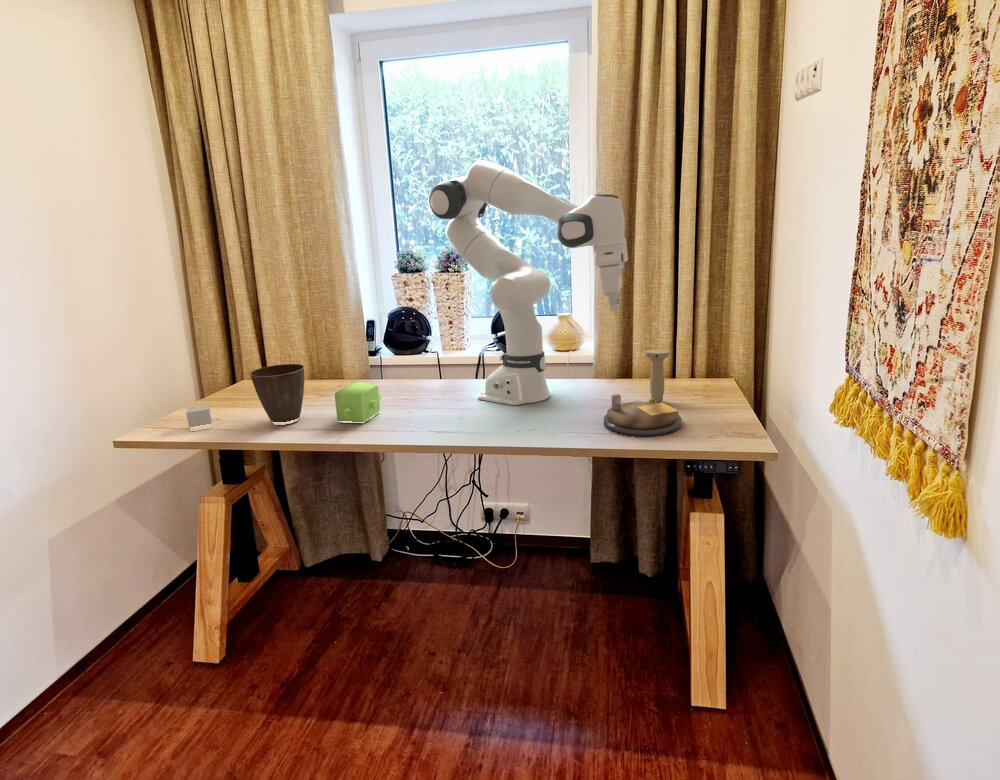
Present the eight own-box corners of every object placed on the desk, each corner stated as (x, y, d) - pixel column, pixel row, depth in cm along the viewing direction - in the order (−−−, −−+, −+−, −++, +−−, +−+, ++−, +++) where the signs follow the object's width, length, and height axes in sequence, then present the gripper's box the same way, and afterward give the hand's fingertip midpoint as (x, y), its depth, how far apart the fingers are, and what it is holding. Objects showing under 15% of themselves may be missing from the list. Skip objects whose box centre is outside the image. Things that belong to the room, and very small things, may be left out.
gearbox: (360, 432, 173) (357, 399, 170) (329, 429, 176) (325, 397, 173) (389, 410, 190) (387, 381, 187) (360, 408, 192) (358, 379, 189)
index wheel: (684, 410, 167) (684, 390, 165) (668, 432, 152) (669, 410, 150) (619, 404, 175) (618, 385, 173) (598, 424, 160) (597, 404, 158)
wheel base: (593, 432, 160) (593, 419, 159) (618, 407, 178) (618, 396, 177) (672, 441, 151) (672, 427, 150) (689, 414, 169) (690, 401, 168)
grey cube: (212, 423, 188) (208, 404, 187) (212, 428, 183) (208, 409, 181) (190, 426, 186) (186, 407, 184) (190, 432, 181) (186, 412, 179)
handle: (667, 404, 178) (668, 353, 174) (644, 403, 180) (645, 353, 176) (668, 399, 182) (669, 349, 178) (646, 399, 184) (646, 349, 180)
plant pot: (249, 424, 184) (240, 372, 180) (294, 411, 195) (286, 361, 190) (276, 433, 174) (266, 378, 170) (321, 419, 185) (314, 366, 181)
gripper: (601, 255, 175) (606, 304, 178) (595, 260, 156) (600, 315, 159) (624, 252, 173) (629, 301, 177) (620, 257, 154) (625, 312, 157)
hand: (615, 308), depth 168 cm, fingers open, 8 cm apart
